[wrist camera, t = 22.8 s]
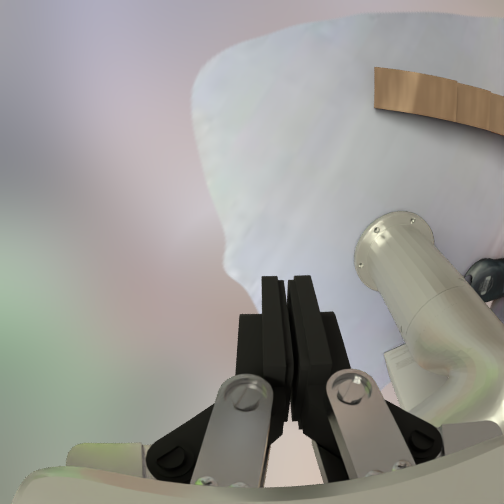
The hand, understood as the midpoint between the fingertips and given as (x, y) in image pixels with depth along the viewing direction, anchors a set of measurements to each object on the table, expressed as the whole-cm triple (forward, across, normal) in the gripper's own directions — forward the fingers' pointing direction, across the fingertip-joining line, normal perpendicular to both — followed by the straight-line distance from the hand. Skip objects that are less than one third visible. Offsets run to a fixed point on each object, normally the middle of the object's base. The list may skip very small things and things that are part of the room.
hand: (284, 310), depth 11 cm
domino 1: (+26, -13, -9) cm, 31 cm away
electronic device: (+28, -41, +18) cm, 53 cm away
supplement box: (+27, -28, +36) cm, 53 cm away
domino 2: (+26, -18, -9) cm, 33 cm away
